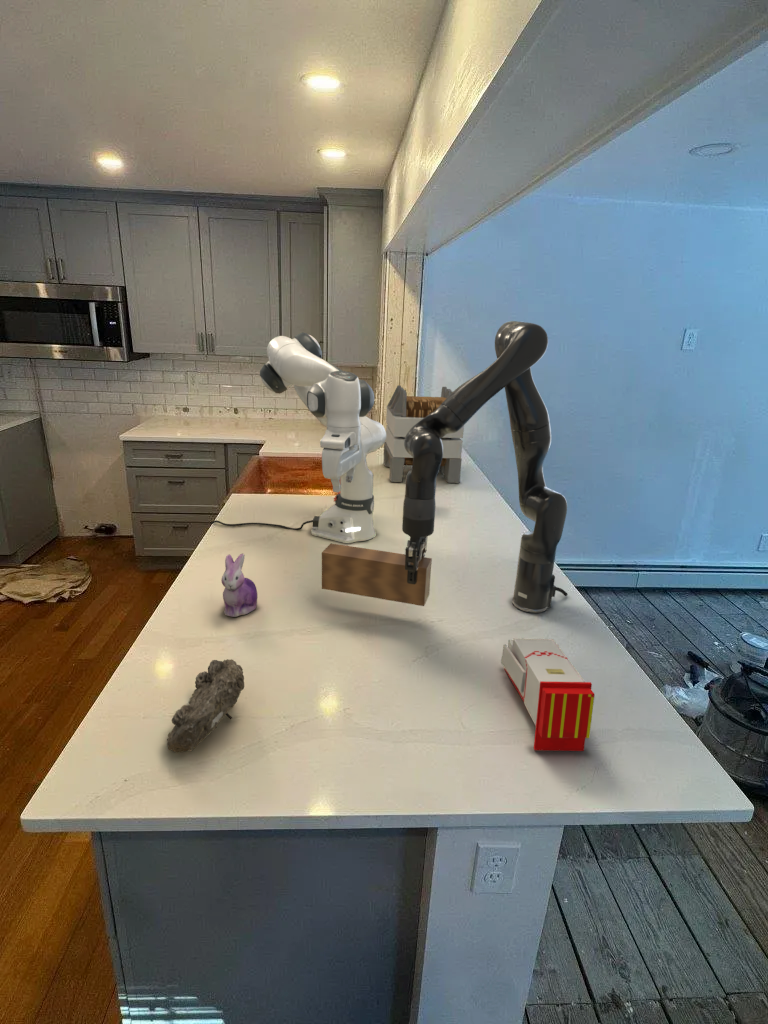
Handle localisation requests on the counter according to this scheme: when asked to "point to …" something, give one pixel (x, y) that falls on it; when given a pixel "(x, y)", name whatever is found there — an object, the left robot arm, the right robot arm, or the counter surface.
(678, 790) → the counter surface
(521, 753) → the counter surface
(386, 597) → the box
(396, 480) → the grey boxy stand
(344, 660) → the counter surface
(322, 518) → the left robot arm
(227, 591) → the figurine
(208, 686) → the fossil
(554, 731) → the toy
